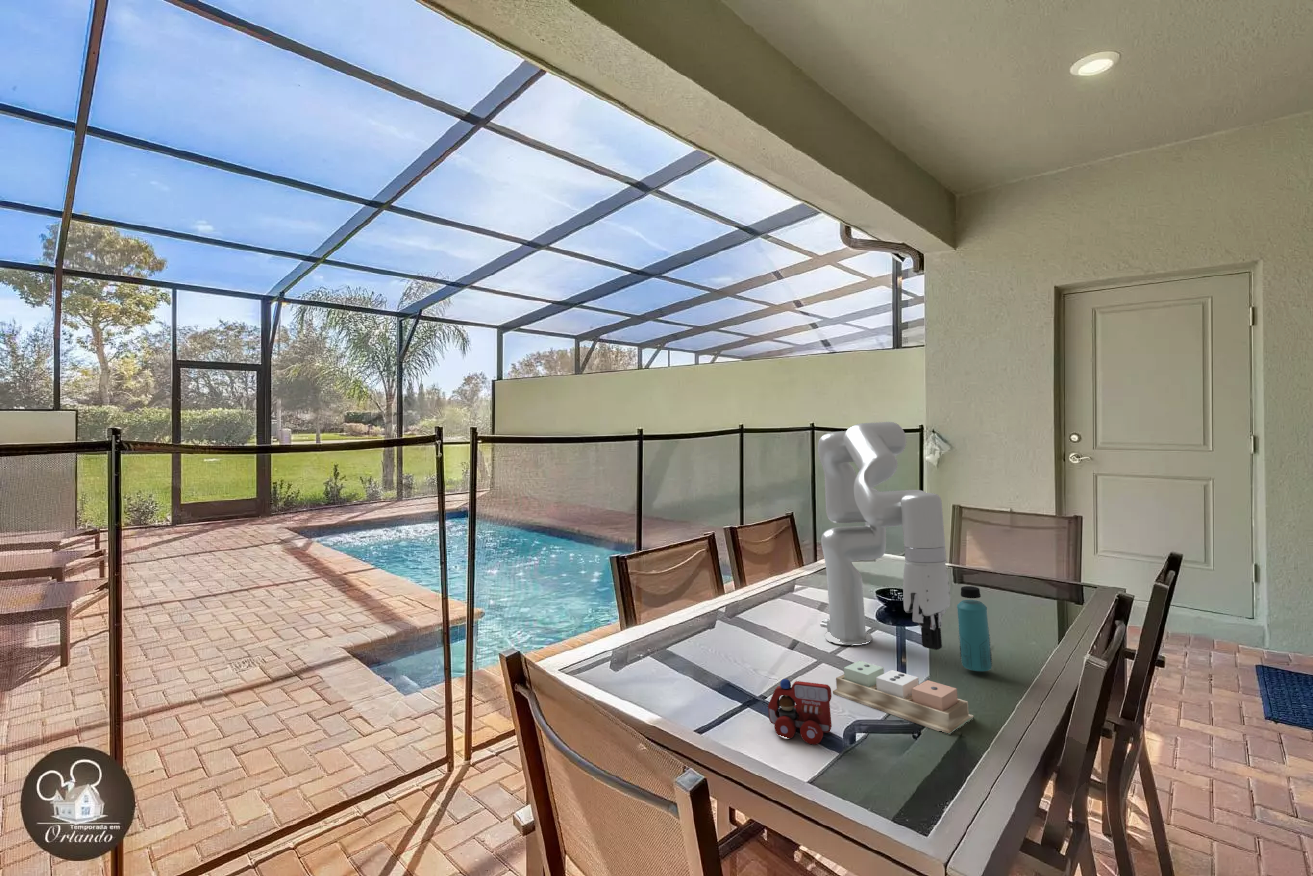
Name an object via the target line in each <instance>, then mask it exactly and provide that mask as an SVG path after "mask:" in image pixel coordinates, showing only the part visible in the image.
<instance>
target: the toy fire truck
mask: <svg viewBox="0 0 1313 876" xmlns="http://www.w3.org/2000/svg"><path fill="white" fill-rule="evenodd" d="M779 684H780V685H778V686H777V687H776V688H775V689H774V691H773V693H772V696H771V698H770V700H769V702H768V705H767V709H768V710H767V711H768V720H769V722H770V723H771V724H773V725H774V731H775V733H776V735H777V734H778V735H781V736H784V737H787V738H791V739H792V738H793V737H794V736H795V735H796V732H797V729H799V734H800V737H801V738H802V740H803V741H804V742H805V743H807V744H809V745H811V744H813V745H812V746H815V745H818V744H820V743H821V741H822V739H823V737H824V733H826V734H827V733H830V731H831V729H832V726H833V724H832V715H831V705H830V704H831V703H830V702H831V700H832V688H831V686H830V685H829V684H824V683H818V682H817V683H816V682H809V681H808V682H807V681H799V680H796V681H794V682H793V683H792V684H791V680H790V679H789V678H783V679H781V680H780V683H779ZM778 735H777V736H778Z"/></svg>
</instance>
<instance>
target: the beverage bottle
mask: <svg viewBox="0 0 1313 876" xmlns="http://www.w3.org/2000/svg"><path fill="white" fill-rule="evenodd" d="M960 596H961V598H965V599H962V600H961V601H959V603H958V604H957V605H956V608H957V609H956V610H957V620H958V638H959V654H960V656H959V657H960V661H961V665H962V666H963V668H965V669H967V670H970V671H974V672H988V671H991V670H992V666H993V662H992V658H993V657H992V649H991V636H990V629H989V621H988V607H987V606H986V605H985V604H984V603H983V602H982V601H981V600H977V599H979V598H981V597H982V596H981V591H980V588H979V587H977V586H969V585H967V586H961V587H960Z"/></svg>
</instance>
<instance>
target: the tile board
mask: <svg viewBox="0 0 1313 876" xmlns="http://www.w3.org/2000/svg"><path fill="white" fill-rule="evenodd" d="M835 682H836V689H834V690H832V694H833V695H836V696H839V697H842V698H844V699H846V700H850V701H852V702H855V703H858V704H861V705H864V706H867V707H869V708H872V709H876V710H879V712H883V713H886V714H889V715H892V716H894V717H897V718H900V719H902V720H906V721H909V722H912V723H914V724H917V725H920V726H922V727H926V728H929V729H931V730H935V731H937V732H939V731H942V732H946V733H950V732H952V731H953V730H954V729H956V728H957V727H958V726H959V725H961V724H963V723H964V722H965V721H967V720H968V719H971V718H973V717H974V715H973V714H970V711H969V710H970V709H969V701H967V700H963V699H961V698H958V703H957V704H956V705H954V706H952V707H951V708H949V709H947V710H946V711H944V712H942V711H939V710H936V709H933V708H930V707H927V706H924V705H921V704H918V703H915V702H913V698H912V695H911V696H909V697H907V698H905V699H902V698H899V697H896V696H893V695H890V694H887V693H884V692H881V691H878V690H877V685H876V684H875V685H873V686H871V687H866V686H863V685H860V684H856V683H853V682H850V681H847V680H845V679H844V674H840V675H839V676H837V677H836V678H835ZM974 718H975V717H974ZM942 732H941V733H942Z"/></svg>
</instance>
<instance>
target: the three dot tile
mask: <svg viewBox="0 0 1313 876" xmlns="http://www.w3.org/2000/svg"><path fill="white" fill-rule="evenodd" d="M919 683H920V682H919V676H915V675H911V674H908V673H904V672H901V671H897V670H894V669H891V670H889V671H886V672H884V674H882V675H880V676H878V677H876V685H877V690H878V691H881V692H884V693H887V694H890V695H893V696H896V697H899V698H902V699H905V698H907V697H909V696H911V695H912V688H914V687H916V686H918V685H919Z"/></svg>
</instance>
